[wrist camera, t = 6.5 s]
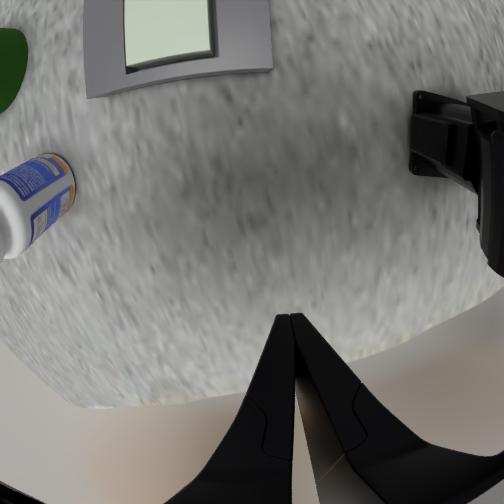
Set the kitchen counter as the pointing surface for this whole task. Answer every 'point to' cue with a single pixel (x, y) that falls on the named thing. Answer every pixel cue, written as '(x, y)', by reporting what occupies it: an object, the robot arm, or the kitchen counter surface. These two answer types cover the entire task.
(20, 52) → the candle
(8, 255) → the pill bottle
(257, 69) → the keypad
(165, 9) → the key sage
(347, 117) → the kitchen counter surface
